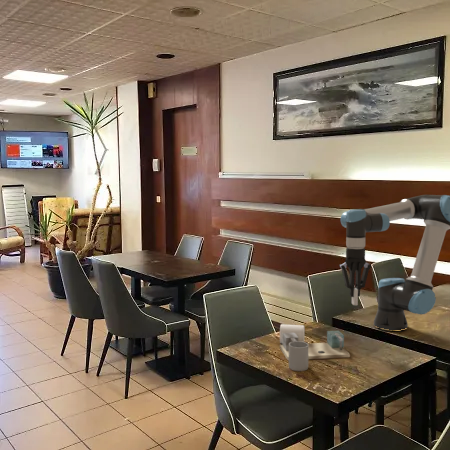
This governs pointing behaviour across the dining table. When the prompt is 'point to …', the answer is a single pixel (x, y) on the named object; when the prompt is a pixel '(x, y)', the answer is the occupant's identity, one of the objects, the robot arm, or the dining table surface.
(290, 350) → the cup
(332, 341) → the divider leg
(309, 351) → the board
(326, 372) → the dining table surface
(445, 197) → the robot arm
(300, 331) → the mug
